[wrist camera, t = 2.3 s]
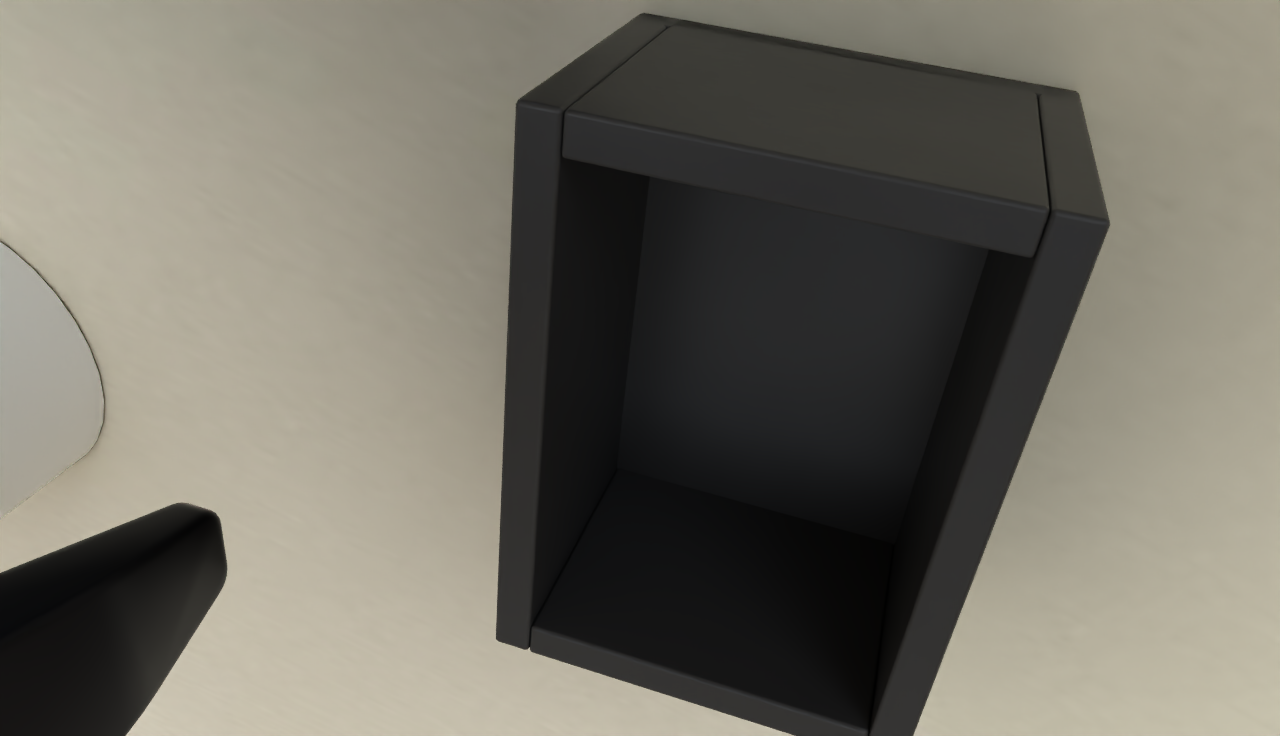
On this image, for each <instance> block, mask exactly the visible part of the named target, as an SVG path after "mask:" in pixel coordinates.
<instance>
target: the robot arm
mask: <svg viewBox="0 0 1280 736" xmlns="http://www.w3.org/2000/svg"><path fill="white" fill-rule="evenodd" d="M226 576H227V560H226V553H225V547H224V540H223V534H222V527H221V522H220V519H219V517H218V516H217V514H216V513H215V512H213V511H211V510H208V509H205V508H202V507H198V506H195V505H192V504H189V503H176V504H173V505H170V506H167V507H165V508H162V509H160V510H157V511H155V512H152V513H150V514H147V515H145V516H142V517H140V518H137V519H135V520H132V521H130V522H127V523H125V524H122V525H120V526H117V527H115V528H112V529H110V530H107V531H104V532H102V533H99V534H97V535H94V536H92V537H89V538H87V539H84V540H82V541H79V542H77V543H74V544H72V545H69V546H67V547H64V548H62V549H59V550H57V551H54V552H52V553H49V554H47V555H44V556H42V557H39V558H37V559H34V560H32V561H29V562H27V563H24V564H22V565H19V566H17V567H14V568H12V569H9V570H7V571H4V572H2V573H0V736H126V734H127V733H128V732H129V730H130V729H131V728H132V726H133V725H134V724H135V722H136V721H137V720H138V718H139V717H140V716H141V714H142V713H143V712H144V710H145V709H146V707H147V706H148V704H149V703H150V701H151V700H152V699H153V697H154V696H155V694H156V693H157V691H158V689H159V688H160V686H161V685H162V683H163V682H164V680H165V678H166V677H167V675H168V674H169V672H170V671H171V669H172V667H173V666H174V664H175V663H176V661H177V659H178V658H179V656H180V655H181V653H182V652H183V650H184V648H185V647H186V645H187V644H188V642H189V640H190V639H191V637H192V636H193V634H194V633H195V631H196V629H197V628H198V626H199V625H200V623H201V622H202V620H203V618H204V617H205V615H206V614H207V612H208V610H209V609H210V607H211V606H212V604H213V603H214V601H215V599H216V598H217V596H218V595H219V593H220V591H221V589H222V587H223V585H224V583H225V580H226Z"/></svg>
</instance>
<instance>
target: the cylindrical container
mask: <svg viewBox="0 0 1280 736" xmlns="http://www.w3.org/2000/svg"><path fill="white" fill-rule="evenodd" d="M103 412H104V398H103V392H102V386H101V380H100V375H99V372H98V369H97V367H96V364H95V361H94V359H93V356H92V353H91V350H90V348H89V346H88V344H87V342H86V340H85V338H84V337H83V335H82V333H81V331H80V329H79V327H78V326H77V324H76V322H75V320H74V319H73V317H72V316H71V314H70V313H69V312H68V310H67V309H66V307H65V306H64V305H63V303H62V302H61V300H60V299H59V298H58V296H57V295H56V294H55V292H54V291H53V290H52V289H51V288H50V287H49V286H48V285H47V284H46V282H45V281H44V280H43V279H42V278H41V277H40V276H39V275H38V274H37V273H36V271H35V270H34V269H32V268H31V267H30V266H29V265H28V264H27V263H26V262H25V261H23V260H22V259H21V258H20V257H19V256H18V255H17V254H16V253H14V252H13V251H12V250H11V249H10V248H8V247H7V246H5V245H4V244H2V243H1V242H0V519H1V518H3V517H4V516H5V515H7V514H8V513H9V512H11V511H12V510H13V509H15V508H16V507H17V506H19V505H20V504H21V503H23V502H24V501H25V500H26V499H28V498H29V497H30V496H32V495H33V494H34V493H36V492H37V491H38V490H40V489H41V488H42V487H44V486H45V485H46V484H48V483H49V482H50V481H52V480H53V479H54V478H56V477H57V476H58V475H59V474H61V473H62V472H63V471H65V470H66V469H67V468H69V467H70V466H71V465H73V464H74V463H75V462H77V461H78V460H79V459H81V458H82V457H83V456H85V455H86V454H87V453H88V452H89V451H90V449H91V448H92V447H93V445H94V444H95V442H96V441H97V439H98V436H99V433H100V430H101V427H102V424H103Z"/></svg>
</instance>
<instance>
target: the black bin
mask: <svg viewBox="0 0 1280 736" xmlns="http://www.w3.org/2000/svg"><path fill="white" fill-rule="evenodd" d="M1109 226H1110V221H1109V217H1108V212H1107V208H1106V204H1105V200H1104V196H1103V192H1102V187H1101V183H1100V179H1099V175H1098V171H1097V166H1096V162H1095V158H1094V154H1093V150H1092V146H1091V141H1090V137H1089V133H1088V129H1087V125H1086V121H1085V116H1084V112H1083V108H1082V104H1081V100H1080V96H1079V93H1078V92H1076V91H1070V90H1065V89H1059V88H1054V87H1048V86H1043V85H1036V84H1032V83H1026V82H1021V81H1015V80H1010V79H1004V78H999V77H993V76H988V75H982V74H977V73H971V72H966V71H960V70H955V69H949V68H944V67H938V66H933V65H927V64H922V63H916V62H911V61H905V60H900V59H894V58H889V57H883V56H878V55H872V54H867V53H861V52H856V51H850V50H845V49H839V48H834V47H828V46H823V45H817V44H812V43H806V42H801V41H795V40H790V39H784V38H779V37H773V36H768V35H762V34H757V33H751V32H746V31H740V30H735V29H729V28H724V27H718V26H713V25H707V24H702V23H696V22H691V21H685V20H679V19H673V18H668V17H662V16H657V15H651V14H646V13H642V14H640V15H638V16H637V17H635V18H634V19H633V20H631V21H630V22H628V23H627V24H625V25H624V26H623V27H621V28H620V29H618V30H617V31H615V32H614V33H613V34H611V35H610V36H608V37H607V38H605V39H604V40H603V41H601V42H600V43H598V44H597V45H595V46H594V47H593V48H591V49H590V50H588V51H587V52H585V53H584V54H583V55H581V56H580V57H578V58H577V59H575V60H574V61H573V62H571V63H570V64H568V65H567V66H565V67H564V68H563V69H561V70H560V71H558V72H557V73H555V74H554V75H553V76H551V77H550V78H548V79H547V80H546V81H544V82H543V83H541V84H540V85H538V86H537V87H536V88H534V89H533V90H531V91H530V92H528V93H527V94H526V95H524V96H523V97H521V98H520V99H518V101H517V103H516V119H515V146H514V172H513V199H512V225H511V252H510V278H509V305H508V331H507V358H506V384H505V411H504V437H503V464H502V490H501V517H500V543H499V570H498V596H497V623H496V639H497V640H498V641H499V642H502V643H506V644H509V645H512V646H515V647H518V648H521V649H525V650H526V649H528V648H529V647H530V650H531V651H532V652H533V653H536V654H540V655H543V656H546V657H549V658H552V659H555V660H559V661H562V662H565V663H568V664H571V665H574V666H577V667H581V668H584V669H587V670H590V671H593V672H596V673H600V674H603V675H606V676H609V677H612V678H615V679H618V680H622V681H625V682H628V683H631V684H634V685H637V686H641V687H644V688H647V689H650V690H653V691H656V692H659V693H663V694H666V695H669V696H672V697H675V698H678V699H682V700H685V701H688V702H691V703H694V704H697V705H700V706H704V707H707V708H710V709H713V710H716V711H719V712H722V713H726V714H729V715H732V716H735V717H738V718H741V719H745V720H748V721H751V722H754V723H757V724H760V725H763V726H767V727H770V728H773V729H776V730H779V731H782V732H786V733H789V734H792V735H795V736H913V735H914V732H915V729H916V727H917V724H918V722H919V719H920V716H921V714H922V711H923V709H924V706H925V704H926V701H927V698H928V696H929V693H930V691H931V688H932V685H933V683H934V680H935V678H936V675H937V672H938V670H939V667H940V665H941V662H942V659H943V657H944V654H945V652H946V649H947V646H948V644H949V641H950V639H951V636H952V633H953V631H954V628H955V626H956V623H957V620H958V618H959V615H960V613H961V610H962V608H963V605H964V602H965V600H966V597H967V595H968V592H969V589H970V587H971V584H972V582H973V579H974V576H975V574H976V571H977V569H978V566H979V563H980V561H981V558H982V556H983V553H984V550H985V548H986V545H987V543H988V540H989V537H990V535H991V532H992V530H993V527H994V524H995V522H996V519H997V517H998V514H999V511H1000V509H1001V506H1002V504H1003V501H1004V499H1005V496H1006V493H1007V491H1008V488H1009V486H1010V483H1011V480H1012V478H1013V475H1014V473H1015V470H1016V467H1017V465H1018V462H1019V460H1020V457H1021V454H1022V452H1023V449H1024V447H1025V444H1026V441H1027V439H1028V436H1029V434H1030V431H1031V428H1032V426H1033V423H1034V421H1035V418H1036V415H1037V413H1038V410H1039V408H1040V405H1041V403H1042V400H1043V397H1044V395H1045V392H1046V390H1047V387H1048V384H1049V382H1050V379H1051V377H1052V374H1053V371H1054V369H1055V366H1056V364H1057V361H1058V358H1059V356H1060V353H1061V351H1062V348H1063V345H1064V343H1065V340H1066V338H1067V335H1068V332H1069V330H1070V327H1071V325H1072V322H1073V319H1074V317H1075V314H1076V312H1077V309H1078V307H1079V304H1080V301H1081V299H1082V296H1083V294H1084V291H1085V288H1086V286H1087V283H1088V281H1089V278H1090V275H1091V273H1092V270H1093V268H1094V265H1095V262H1096V260H1097V257H1098V255H1099V252H1100V249H1101V247H1102V244H1103V242H1104V239H1105V236H1106V234H1107V231H1108V229H1109Z"/></svg>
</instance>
